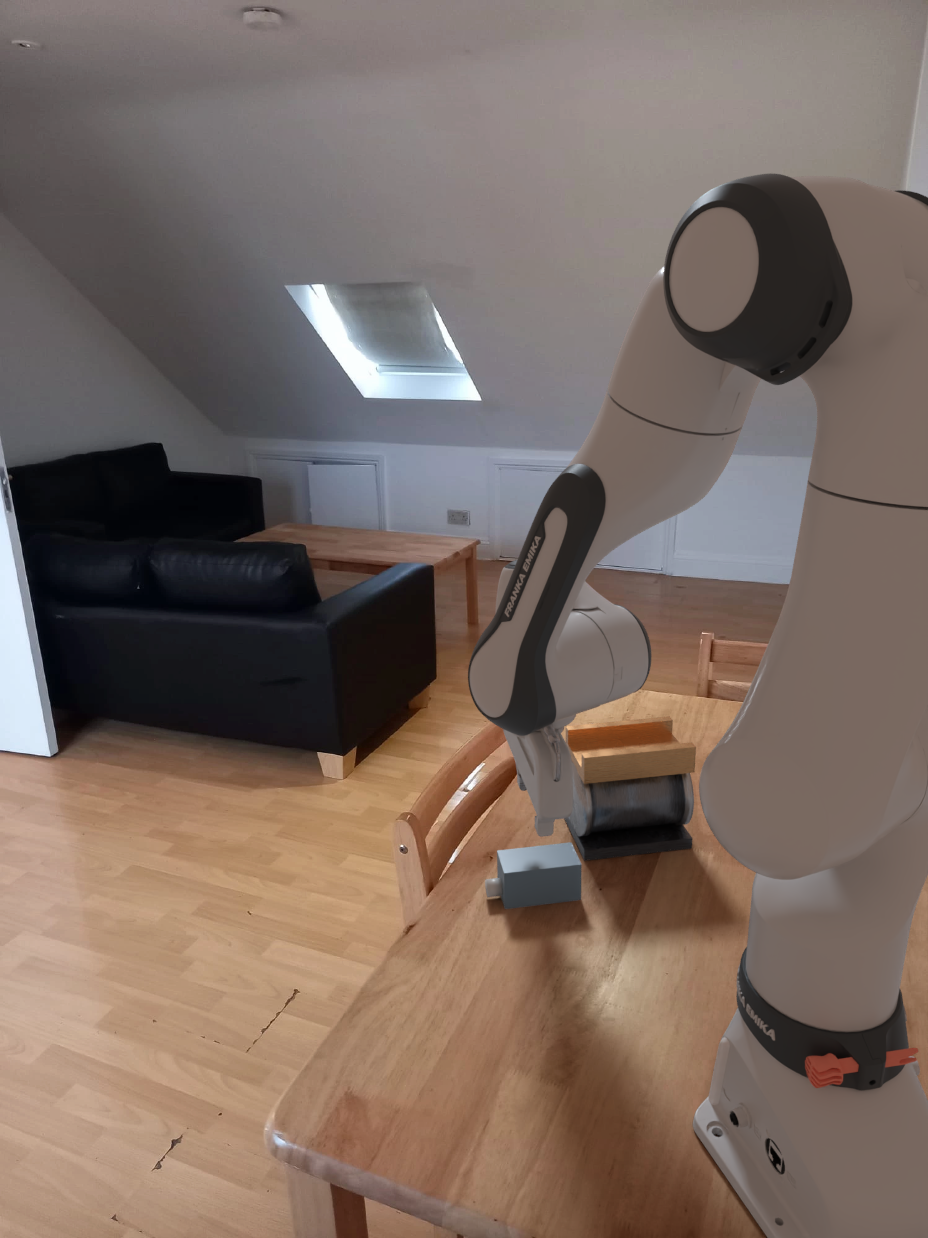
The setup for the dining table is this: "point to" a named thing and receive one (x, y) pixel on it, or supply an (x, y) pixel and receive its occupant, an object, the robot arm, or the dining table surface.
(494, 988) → the dining table surface
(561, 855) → the blue-grey rectangular block
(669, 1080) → the dining table surface
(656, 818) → the wood-topped grey cylinder
